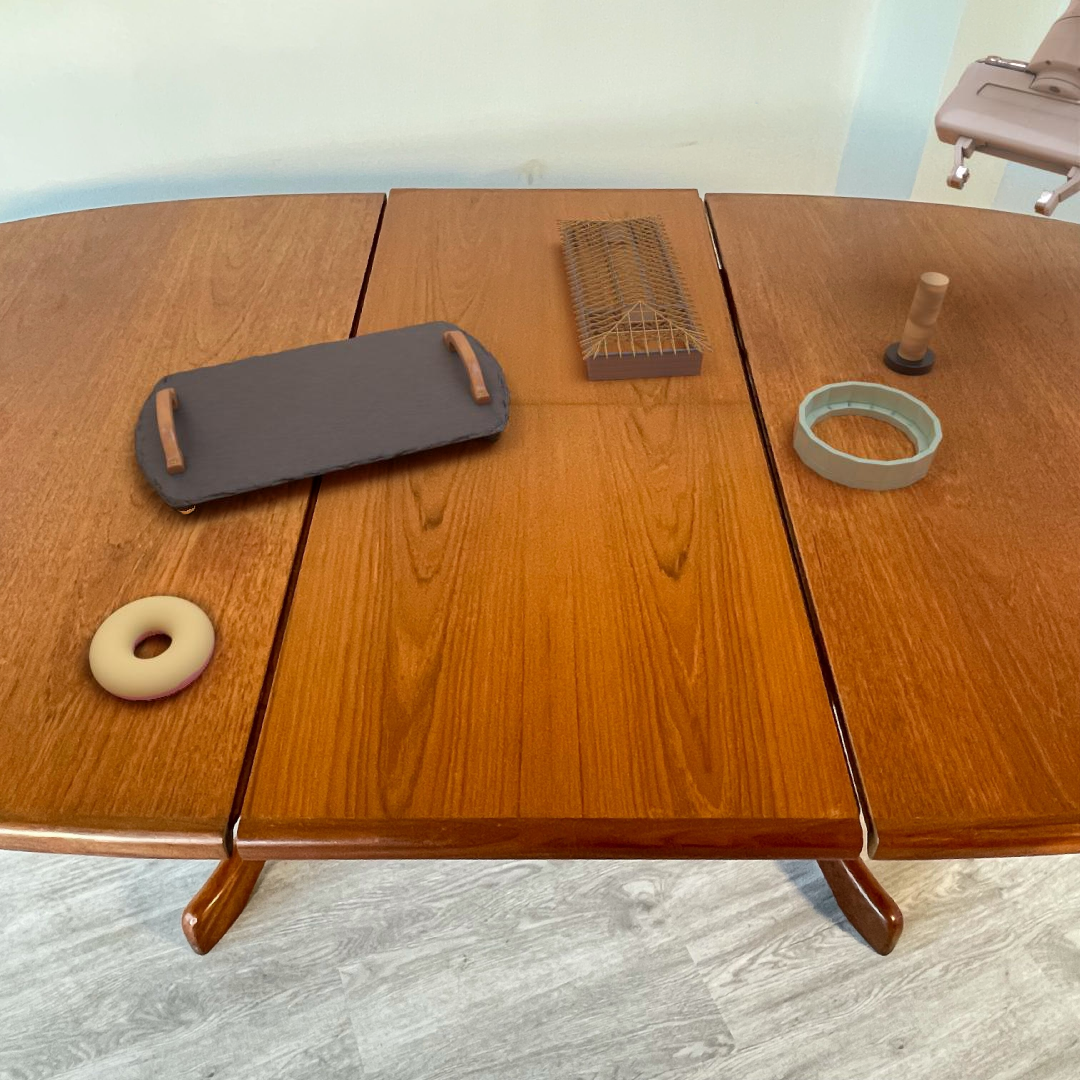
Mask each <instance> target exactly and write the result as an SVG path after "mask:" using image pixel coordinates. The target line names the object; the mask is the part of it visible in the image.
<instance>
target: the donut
mask: <svg viewBox="0 0 1080 1080" xmlns="http://www.w3.org/2000/svg"><path fill="white" fill-rule="evenodd" d="M153 634H159V635H163V634H165V635H164V636H167V637H170V639H171V643H170V646H169V647H168V648H167V649H166V650H165V651H164V652H162V653H161V654H159V655H157V656H154V657H150V658H139V657H137V656H136V655H135V651H136V648H137V647H138V645H139V644H140V643H141V642H142V641H141V640H142V639H144V638H145V637H147V636H150V635H153ZM150 637H151V636H150ZM144 640H145V639H144ZM140 641H141V642H140ZM139 642H140V643H139ZM215 642H216V641H215V631H214V627H213V624H212V622H211V620H210V618H209V617H208V615H207V614H206V612H205V611H203V609H201V608H200V607H199V606H198V605H197V604H195V603H193V602H191V601H189V600H187V599H185V598H182V597H176V596H172V595H155V596H154V595H153V596H148V597H143V598H140V599H137V600H134V601H131V602H129V603H127V604H125V605H123V606H122V607H120V608H118V609H116V610H115V611H114V612H113V613H111V614H110V615H109V616H108V617H107V618H106V619H105V620H104V621H103V622H102V623H101V625H100V626H99V627H98V629H97V631H96V632H95V634H94V635H93V638H92V640H91V643H90V647H89V653H88V659H89V666H90V670H91V673H92V675H93V677H94V678H95V680H96V681H97V683H98V684H99V685H100V686H101V687H102V688H103V689H104V690H106V691H107V692H109V693H110V694H111V695H113V696H116V697H118V698H121V699H124V700H129V701H136V700H147V701H152V700H151V699H155V700H157V699H156V698H160V697H164V696H167V695H169V694H172V693H174V694H176V693H177V692H176V691H178V690H180V691H182V690H183V689H182V688H184V687H185V686H187V685H188V684H189V685H191V684H192V683H193V682H194V681H196V680H197V679H198V678H199V677H200V676H201V674H202V673H203V672H204V671H205V669H206V668H207V666H208V665H209V663H210V661H211V659H212V656H213V654H214V649H215ZM138 643H139V644H138ZM137 644H138V645H137ZM136 646H137V647H136ZM135 647H136V648H135ZM210 658H211V659H210ZM207 664H208V665H207ZM205 667H206V668H205ZM203 670H204V671H203ZM193 680H194V681H193ZM192 681H193V682H192ZM191 682H192V683H191ZM190 683H191V684H190ZM189 685H188V686H189ZM188 686H187V687H188ZM185 688H186V687H185ZM185 688H184V689H185ZM181 689H182V690H181ZM175 692H176V693H175ZM178 692H179V691H178ZM172 695H173V694H172ZM169 696H170V695H169ZM167 697H168V696H167ZM164 698H165V697H164ZM160 699H161V698H160Z"/></svg>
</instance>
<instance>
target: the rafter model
mask: <svg viewBox="0 0 1080 1080" xmlns="http://www.w3.org/2000/svg"><path fill="white" fill-rule="evenodd" d="M660 216H661V214H660V213H657V214H649V215H645V216H644V215H642V214H640V216H639V217H634V216H632V215H629V218H624V217H622V216H621V215H619V216H618V218H617V219H614V218H612V217H610V216H608V217H607V219H602V218H600V217H599V216H597V217H596V219H589V218H588V217H586V219H578V218H577V217H575V218H574V219H572V218H556V219H555V221H556V222H557V223H556V225H559V227H558V226H557V230H558V232H560V233H559V234H558V236H559V237H560V236H562V237H560V238H559V240H560V241H562V242H560V245H561V246H562V245H563V246H564V247H563V246H562V247H561V250H563V252H562V255H564V257H563V260H565V262H564V265H566V267H565V270H567V272H566V275H567V276H568V277H567V281H569V282H568V286H570V288H569V292H571V294H570V297H572V299H571V303H574V305H573V306H572V309H575V311H574V312H573V314H574V315H576V317H575V318H574V320H575V321H577V323H576V327H578V329H576V330H577V333H580V335H578V339H581V341H579V345H580V346H579V347H580V348H582V350H583V351H582V352H581V355H584V356H583V358H582V361H585V365H586V370H587V375H588V376H587V377H588V380H589V381H590V382H593V381H612V380H627V379H646V378H648V379H649V378H664V377H666V378H667V377H683V376H684V377H685V376H701V373H702V366H703V365H702V364H703V357H704V351H706V352H707V353H711V354H714V351H713V350H712V349H711V348H712V345H711V344H710V343H709V344H708V343H706V342H709V338H708V334H705V333H702V332H705V331H706V329H705V328H701V327H699V326H703V323H702V322H699V320H701V317H700V316H696V314H699V311H698V310H694V308H696V307H697V306H696V305H695V304H692V303H693V302H694V299H693V298H689V297H692V293H689V292H688V291H690V288H689V287H685V286H687V285H688V283H687V282H685V280H686V277H685V276H681V275H683V273H684V272H683V271H681V269H682V267H681V266H678V265H679V264H680V261H677V260H676V259H678V256H675V255H674V254H676V251H673V249H674V247H673V246H671V245H672V242H671V241H670V237H669V236H668V232H667V229H666V228H665V223H664V221H661V220H662V217H660ZM668 240H669V241H668ZM575 246H578V247H575ZM637 247H638V248H637ZM610 248H612V249H610ZM621 248H626V249H621ZM576 250H578V251H576ZM564 251H565V252H564ZM639 252H640V253H639ZM611 253H613V254H611ZM623 253H628V254H623ZM577 255H580V256H577ZM640 257H641V258H640ZM613 258H615V259H613ZM625 258H628V259H625ZM578 260H581V261H578ZM601 263H602V264H601ZM614 263H618V264H615V265H614ZM627 263H628V264H627ZM580 265H582V266H580ZM603 268H604V269H603ZM616 268H617V269H618V268H621V269H618V270H616ZM581 270H584V271H581ZM617 274H620V275H617ZM581 276H583V277H581ZM605 279H606V280H605ZM619 279H623V280H619ZM683 280H684V281H683ZM582 281H586V282H582ZM606 284H607V285H606ZM620 285H622V286H620ZM623 285H624V286H623ZM603 286H604V287H603ZM583 287H585V288H583ZM655 287H657V288H655ZM613 289H614V290H613ZM608 290H610V291H608ZM624 290H625V291H624ZM627 290H629V291H627ZM686 291H687V292H686ZM585 292H589V293H585ZM657 293H658V294H657ZM609 295H610V296H611V297H610V296H609ZM626 296H628V297H626ZM586 298H591V299H586ZM658 298H659V299H660V300H659V299H658ZM610 301H611V302H613V303H611V302H610ZM625 302H627V303H625ZM628 302H629V303H628ZM589 303H590V304H591V305H590V304H589ZM588 304H589V305H588ZM692 308H693V309H692ZM694 314H695V315H694ZM661 334H662V335H661ZM668 334H669V336H668V337H665V336H666V335H668ZM641 335H642V336H643V338H637V337H639V336H641ZM647 335H648V336H650V338H647ZM677 335H678V336H677ZM626 336H627V337H626ZM614 337H616V338H614ZM619 337H621V338H622V339H620V338H619ZM610 339H611V340H610ZM675 340H679V341H681V342H684V345H685V348H677V349H676V345H675ZM652 341H656V343H657V346H658V350H649V348H648V347H649V346H648V342H652ZM661 341H670V344H671V347H672V349H662V343H661ZM634 342H643V345H644V349H645V350H639V351H635V346H634ZM610 343H611V344H612V343H613V344H614V343H616V346H617V349H618V352H608V351H607V345H608V344H610ZM620 343H630V347H631V350H632V351H623V352H622V351H621V345H620ZM603 348H604V349H603ZM601 349H603V350H604V353H600V351H601Z"/></svg>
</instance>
